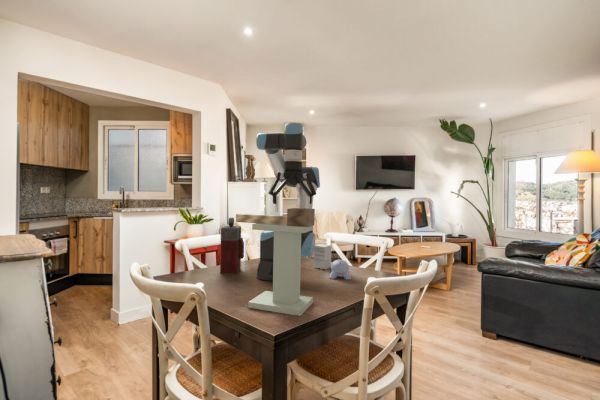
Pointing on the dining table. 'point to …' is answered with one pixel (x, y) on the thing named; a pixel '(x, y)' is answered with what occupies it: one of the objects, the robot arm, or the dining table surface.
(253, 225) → the stand
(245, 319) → the dining table surface
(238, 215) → the mallet
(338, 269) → the hippopotamus toy
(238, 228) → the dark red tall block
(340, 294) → the dining table surface
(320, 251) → the supplement box
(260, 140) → the robot arm
